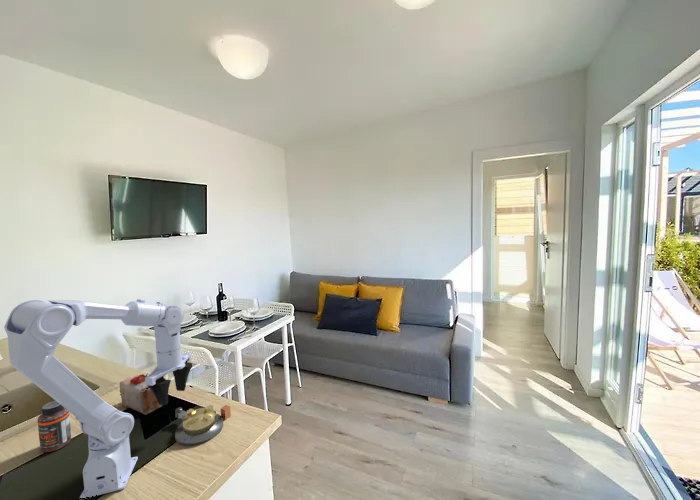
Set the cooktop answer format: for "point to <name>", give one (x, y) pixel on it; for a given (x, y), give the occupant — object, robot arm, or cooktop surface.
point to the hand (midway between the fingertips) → (172, 396)
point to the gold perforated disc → (196, 419)
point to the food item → (138, 395)
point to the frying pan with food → (205, 436)
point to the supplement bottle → (54, 427)
